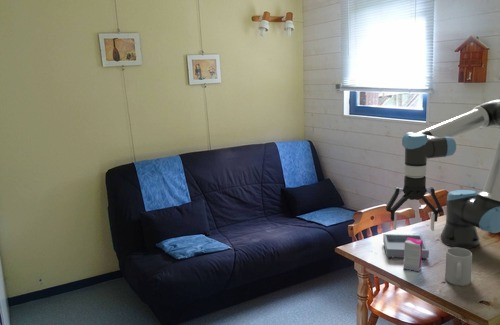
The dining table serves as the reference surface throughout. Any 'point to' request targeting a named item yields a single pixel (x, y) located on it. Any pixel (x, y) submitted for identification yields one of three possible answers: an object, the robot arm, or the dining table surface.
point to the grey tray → (401, 245)
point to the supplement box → (412, 254)
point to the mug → (458, 266)
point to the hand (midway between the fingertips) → (413, 228)
